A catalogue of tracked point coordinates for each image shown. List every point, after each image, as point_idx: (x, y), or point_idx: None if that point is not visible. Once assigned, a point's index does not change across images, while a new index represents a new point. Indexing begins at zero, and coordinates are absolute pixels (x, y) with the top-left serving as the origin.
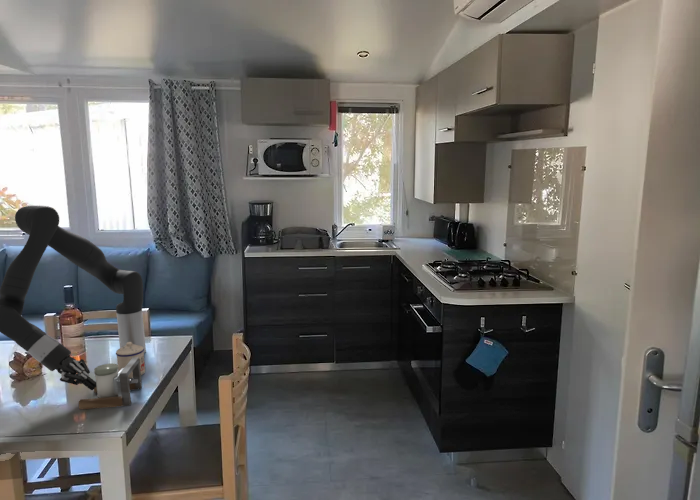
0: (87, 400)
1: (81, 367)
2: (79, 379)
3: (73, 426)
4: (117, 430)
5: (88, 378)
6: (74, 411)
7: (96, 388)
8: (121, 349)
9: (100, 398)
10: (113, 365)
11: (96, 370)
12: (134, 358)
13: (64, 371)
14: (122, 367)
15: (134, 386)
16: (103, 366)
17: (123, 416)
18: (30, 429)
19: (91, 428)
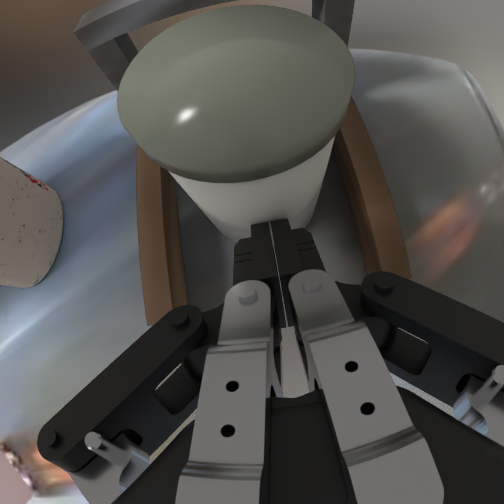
0: (393, 231)
1: (226, 385)
2: (411, 288)
3: (500, 215)
4: (466, 77)
5: (287, 268)
6: None
7: (180, 305)
8: None
9: (362, 167)
10: (178, 40)
11: (320, 102)
12: (94, 15)
13: (500, 446)
14: (22, 232)
15: None
16: (189, 97)
17: (404, 77)
18: None
19: (489, 146)
